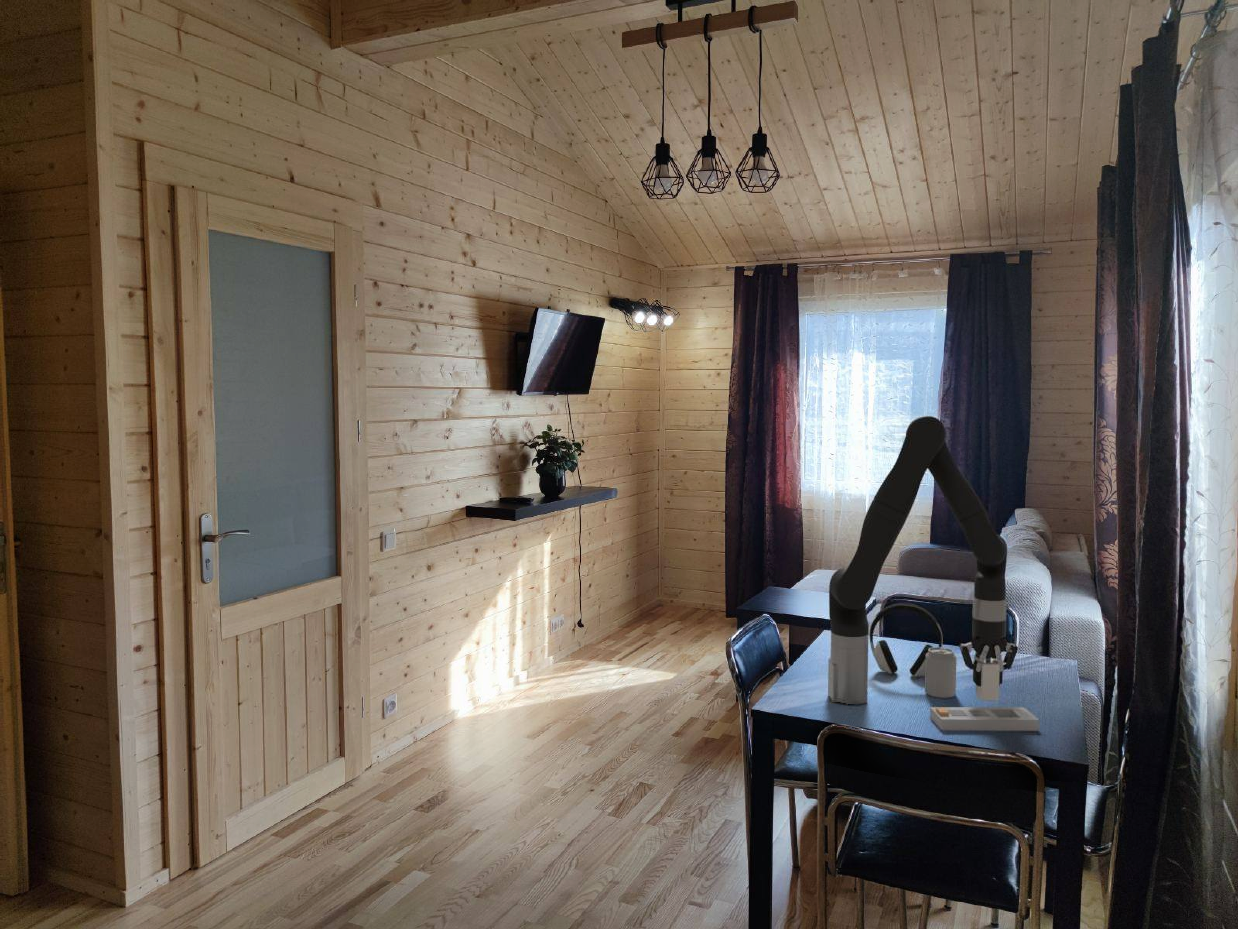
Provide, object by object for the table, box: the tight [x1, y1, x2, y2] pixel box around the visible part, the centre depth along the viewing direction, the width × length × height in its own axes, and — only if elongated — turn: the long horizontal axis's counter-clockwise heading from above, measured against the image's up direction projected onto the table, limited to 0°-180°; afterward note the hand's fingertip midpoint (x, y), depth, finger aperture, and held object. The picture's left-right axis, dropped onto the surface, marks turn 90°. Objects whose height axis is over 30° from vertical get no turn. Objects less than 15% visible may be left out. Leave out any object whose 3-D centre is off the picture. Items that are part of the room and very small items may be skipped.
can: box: [924, 646, 957, 699], centre depth 229 cm, size 8×8×12 cm
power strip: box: [929, 706, 1040, 732], centre depth 209 cm, size 22×8×4 cm, turn 89°
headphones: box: [868, 602, 944, 678], centre depth 246 cm, size 19×8×20 cm, turn 68°
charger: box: [975, 658, 1000, 702], centre depth 219 cm, size 4×4×11 cm
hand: (987, 685), depth 219 cm, fingers closed on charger, 4 cm apart
